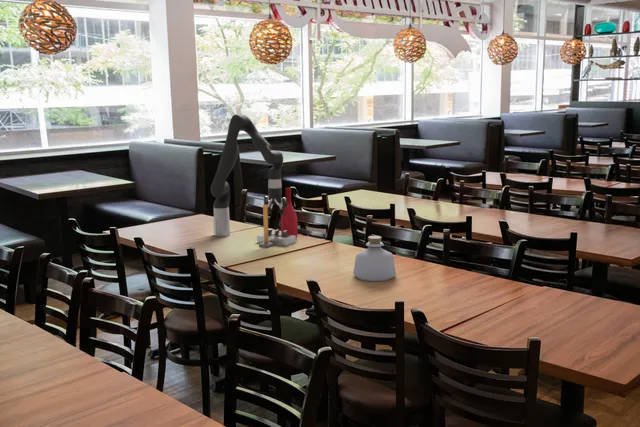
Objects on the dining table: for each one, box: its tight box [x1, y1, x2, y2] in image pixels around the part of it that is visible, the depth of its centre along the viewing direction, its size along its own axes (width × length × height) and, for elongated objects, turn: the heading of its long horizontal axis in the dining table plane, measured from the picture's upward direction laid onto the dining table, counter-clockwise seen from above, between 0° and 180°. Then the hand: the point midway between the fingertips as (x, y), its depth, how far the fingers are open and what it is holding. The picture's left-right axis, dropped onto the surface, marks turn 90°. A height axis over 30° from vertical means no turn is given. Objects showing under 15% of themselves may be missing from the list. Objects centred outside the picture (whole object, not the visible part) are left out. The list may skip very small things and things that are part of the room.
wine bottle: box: [280, 187, 298, 238], centre depth 389 cm, size 10×10×30 cm
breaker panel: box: [256, 232, 297, 247], centre depth 381 cm, size 20×10×4 cm, turn 59°
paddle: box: [268, 228, 274, 235], centre depth 382 cm, size 1×3×3 cm, turn 150°
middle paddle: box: [274, 228, 281, 235], centre depth 380 cm, size 1×3×3 cm, turn 149°
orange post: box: [258, 204, 275, 249], centre depth 370 cm, size 6×6×24 cm
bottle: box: [353, 235, 397, 283], centre depth 309 cm, size 20×20×19 cm
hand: (275, 214), depth 378 cm, fingers open, 8 cm apart
